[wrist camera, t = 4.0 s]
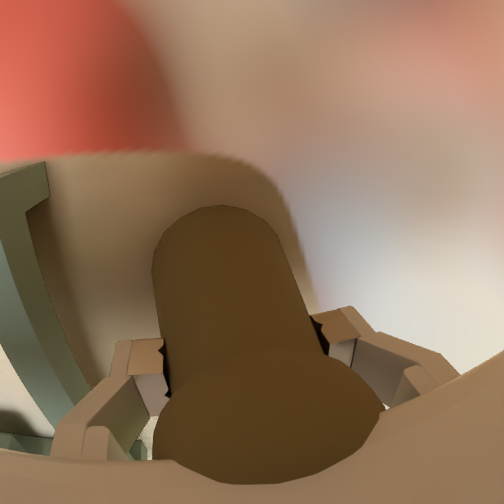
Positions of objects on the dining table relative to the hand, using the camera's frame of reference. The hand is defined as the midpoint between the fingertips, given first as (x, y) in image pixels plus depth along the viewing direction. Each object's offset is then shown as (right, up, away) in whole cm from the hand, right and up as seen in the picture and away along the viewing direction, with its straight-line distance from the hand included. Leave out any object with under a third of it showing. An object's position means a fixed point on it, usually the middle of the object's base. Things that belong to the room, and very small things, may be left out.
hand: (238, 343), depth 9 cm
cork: (-1, +2, +5) cm, 5 cm away
